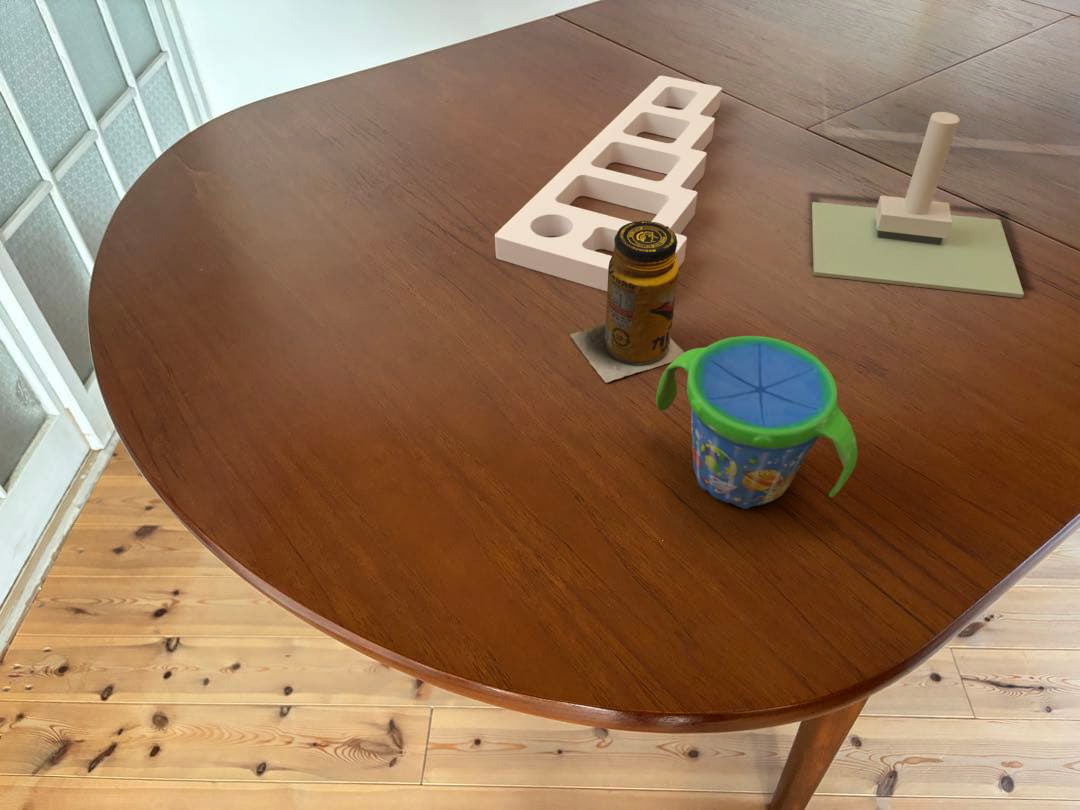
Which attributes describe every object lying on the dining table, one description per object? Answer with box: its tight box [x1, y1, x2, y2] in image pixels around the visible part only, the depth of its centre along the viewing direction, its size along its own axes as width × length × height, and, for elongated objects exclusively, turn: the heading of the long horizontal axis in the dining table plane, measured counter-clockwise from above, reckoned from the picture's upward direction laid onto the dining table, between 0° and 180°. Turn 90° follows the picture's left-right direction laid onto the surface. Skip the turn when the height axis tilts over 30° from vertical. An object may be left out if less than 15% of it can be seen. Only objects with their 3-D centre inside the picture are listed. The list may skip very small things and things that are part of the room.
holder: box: [494, 75, 723, 292], centre depth 101 cm, size 45×18×3 cm, turn 152°
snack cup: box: [655, 335, 858, 510], centre depth 65 cm, size 16×10×10 cm
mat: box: [811, 201, 1025, 299], centre depth 91 cm, size 20×14×1 cm
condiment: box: [569, 220, 686, 383], centre depth 76 cm, size 7×8×12 cm
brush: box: [876, 111, 960, 245], centre depth 88 cm, size 7×4×13 cm, turn 76°
